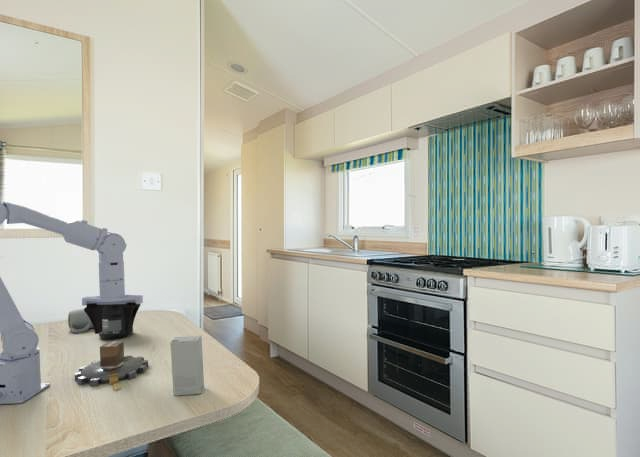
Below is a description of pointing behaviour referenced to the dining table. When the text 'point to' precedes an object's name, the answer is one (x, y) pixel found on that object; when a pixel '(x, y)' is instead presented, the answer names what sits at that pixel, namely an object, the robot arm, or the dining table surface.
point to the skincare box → (187, 365)
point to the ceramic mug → (79, 321)
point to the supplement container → (113, 322)
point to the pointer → (116, 386)
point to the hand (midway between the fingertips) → (113, 332)
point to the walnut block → (111, 353)
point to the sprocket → (111, 371)
